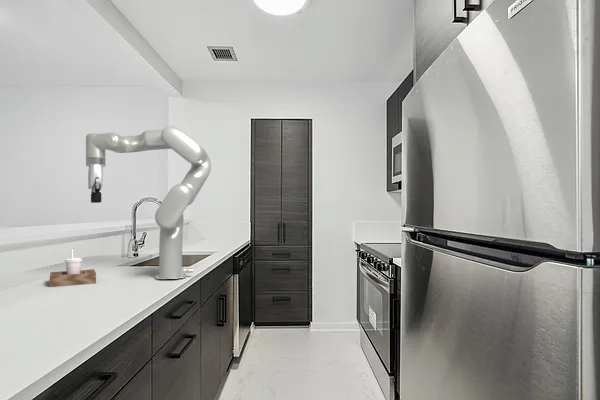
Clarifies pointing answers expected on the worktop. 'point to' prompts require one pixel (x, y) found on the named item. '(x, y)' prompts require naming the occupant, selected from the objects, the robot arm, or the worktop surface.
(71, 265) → the smoothie
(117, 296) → the worktop surface
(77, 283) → the cutout board
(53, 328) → the worktop surface
